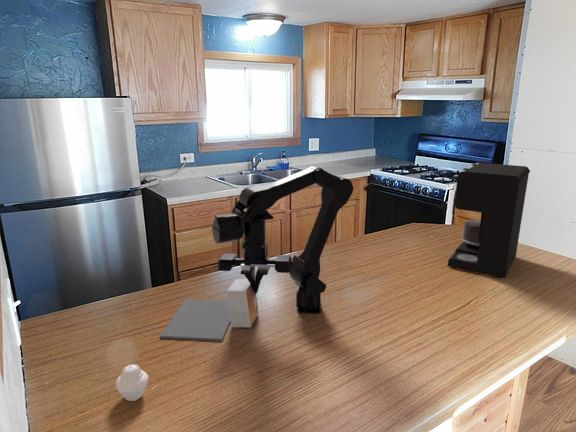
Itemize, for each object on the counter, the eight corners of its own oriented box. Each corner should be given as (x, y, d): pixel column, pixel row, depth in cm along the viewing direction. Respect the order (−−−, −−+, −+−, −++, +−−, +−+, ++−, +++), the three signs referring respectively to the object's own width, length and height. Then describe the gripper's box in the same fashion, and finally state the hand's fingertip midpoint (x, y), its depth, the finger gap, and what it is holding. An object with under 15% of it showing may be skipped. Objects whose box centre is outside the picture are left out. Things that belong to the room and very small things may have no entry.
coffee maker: (464, 244, 170) (475, 160, 161) (518, 254, 159) (532, 164, 150) (445, 266, 148) (455, 169, 139) (505, 279, 137) (521, 175, 128)
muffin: (110, 402, 82) (106, 371, 80) (132, 383, 88) (128, 354, 86) (136, 409, 80) (132, 379, 78) (156, 390, 86) (153, 360, 84)
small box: (251, 328, 108) (246, 291, 105) (230, 327, 109) (225, 291, 106) (259, 313, 115) (254, 278, 112) (240, 313, 116) (235, 278, 114)
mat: (238, 303, 122) (238, 301, 122) (222, 340, 103) (222, 338, 103) (186, 300, 123) (185, 299, 123) (160, 337, 104) (159, 335, 104)
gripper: (293, 228, 112) (293, 281, 116) (225, 227, 114) (228, 279, 118) (290, 241, 102) (290, 299, 106) (215, 240, 103) (218, 296, 107)
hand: (256, 292), depth 109 cm, fingers closed
